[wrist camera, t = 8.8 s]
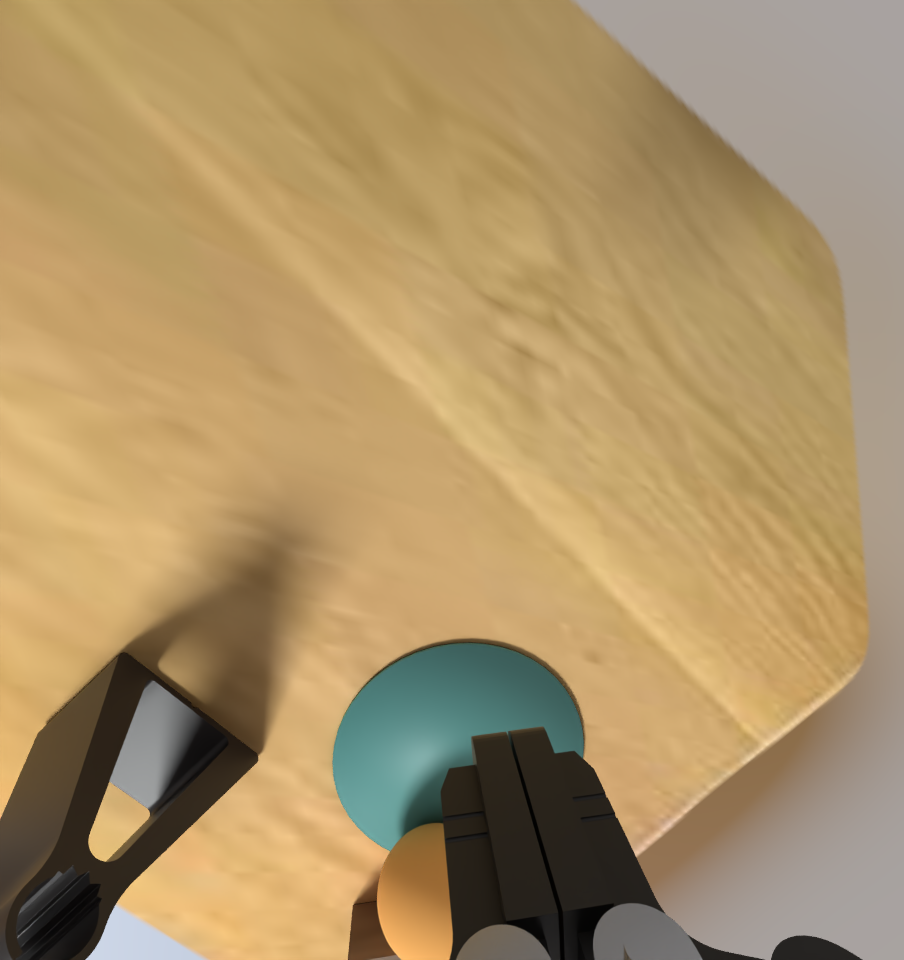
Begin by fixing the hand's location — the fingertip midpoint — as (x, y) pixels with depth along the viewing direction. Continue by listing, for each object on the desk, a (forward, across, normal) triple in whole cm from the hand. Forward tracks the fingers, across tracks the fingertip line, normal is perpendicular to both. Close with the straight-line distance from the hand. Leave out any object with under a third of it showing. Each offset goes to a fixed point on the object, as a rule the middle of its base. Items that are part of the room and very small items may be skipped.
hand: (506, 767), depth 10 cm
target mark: (+16, 0, +13) cm, 20 cm away
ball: (+12, +2, +18) cm, 22 cm away
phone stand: (+16, +16, +10) cm, 25 cm away
